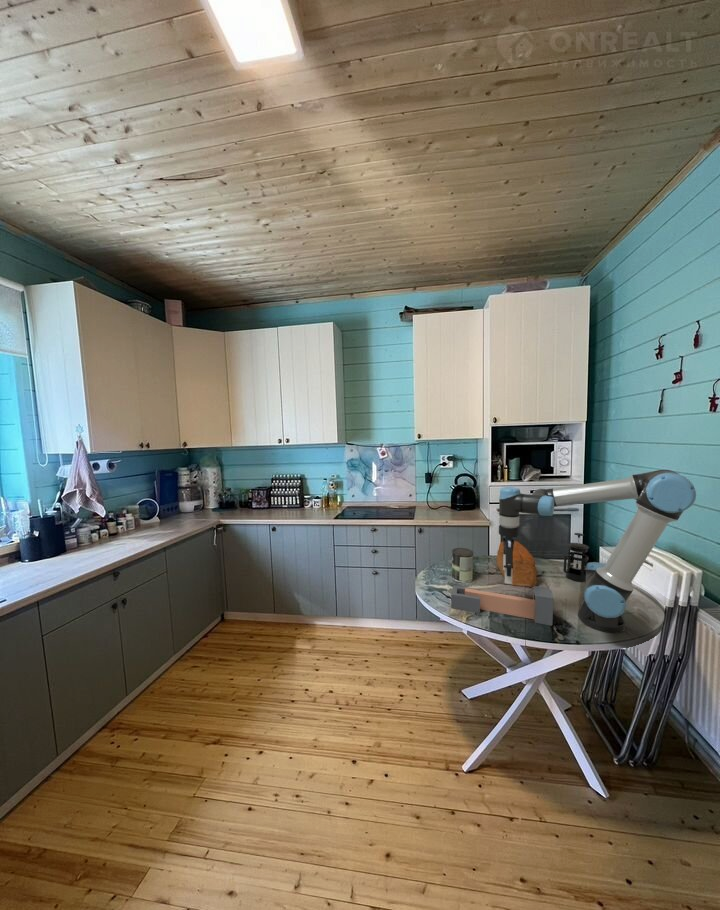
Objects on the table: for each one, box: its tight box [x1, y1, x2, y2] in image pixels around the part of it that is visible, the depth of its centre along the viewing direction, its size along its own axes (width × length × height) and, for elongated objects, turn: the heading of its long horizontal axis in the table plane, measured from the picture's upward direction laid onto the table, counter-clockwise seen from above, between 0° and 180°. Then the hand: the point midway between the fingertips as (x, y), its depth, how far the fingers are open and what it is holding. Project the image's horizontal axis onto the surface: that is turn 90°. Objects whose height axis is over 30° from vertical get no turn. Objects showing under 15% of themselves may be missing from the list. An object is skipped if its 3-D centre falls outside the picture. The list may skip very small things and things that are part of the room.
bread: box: [496, 540, 538, 588], centre depth 181 cm, size 14×27×15 cm, turn 171°
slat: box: [465, 587, 535, 620], centre depth 146 cm, size 28×3×7 cm, turn 68°
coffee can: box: [451, 547, 474, 584], centre depth 176 cm, size 10×10×14 cm
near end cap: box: [532, 585, 555, 627], centre depth 140 cm, size 6×9×11 cm, turn 160°
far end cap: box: [450, 585, 482, 614], centre depth 150 cm, size 12×9×6 cm
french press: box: [562, 532, 590, 583], centre depth 177 cm, size 12×9×23 cm
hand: (507, 576), depth 144 cm, fingers open, 13 cm apart
